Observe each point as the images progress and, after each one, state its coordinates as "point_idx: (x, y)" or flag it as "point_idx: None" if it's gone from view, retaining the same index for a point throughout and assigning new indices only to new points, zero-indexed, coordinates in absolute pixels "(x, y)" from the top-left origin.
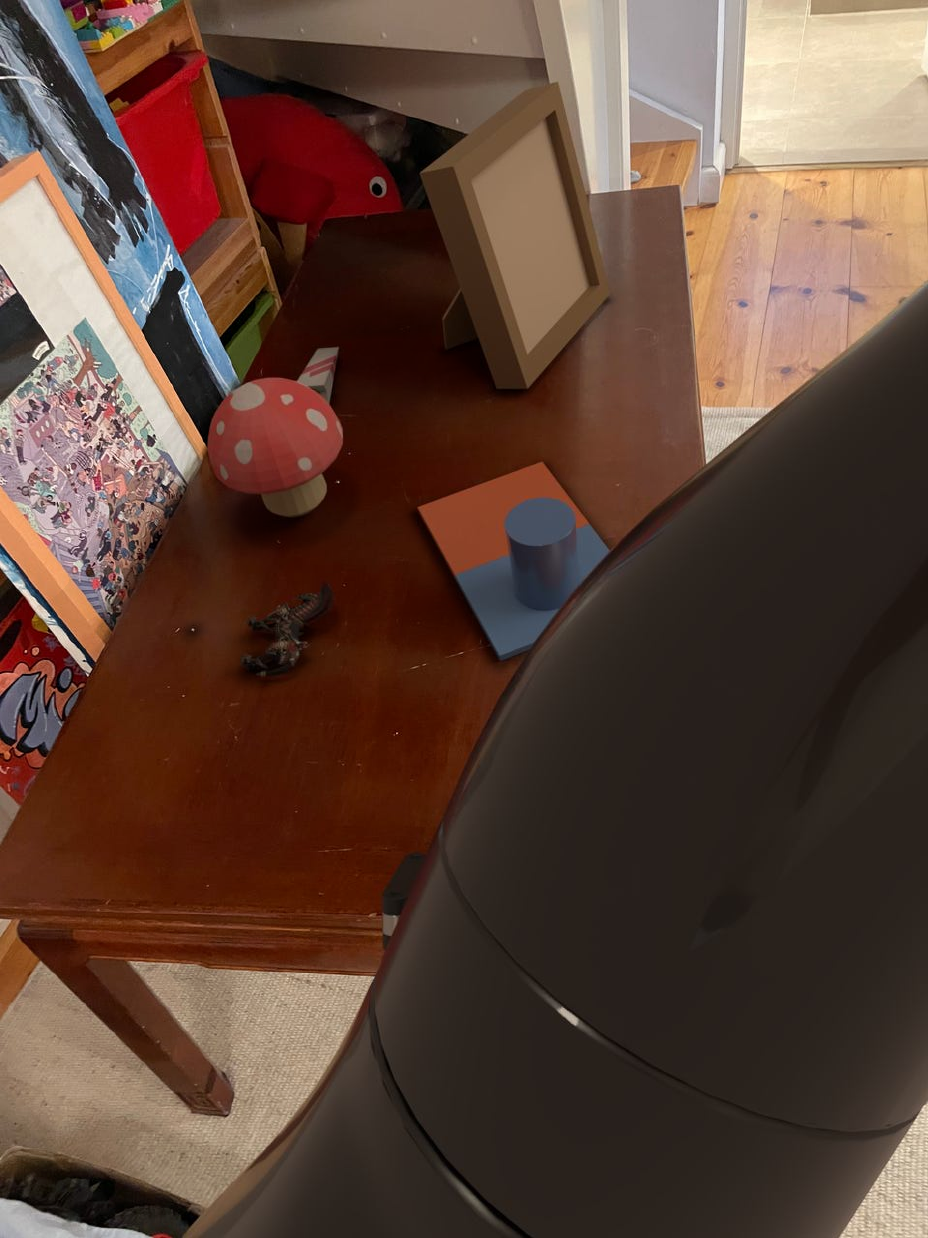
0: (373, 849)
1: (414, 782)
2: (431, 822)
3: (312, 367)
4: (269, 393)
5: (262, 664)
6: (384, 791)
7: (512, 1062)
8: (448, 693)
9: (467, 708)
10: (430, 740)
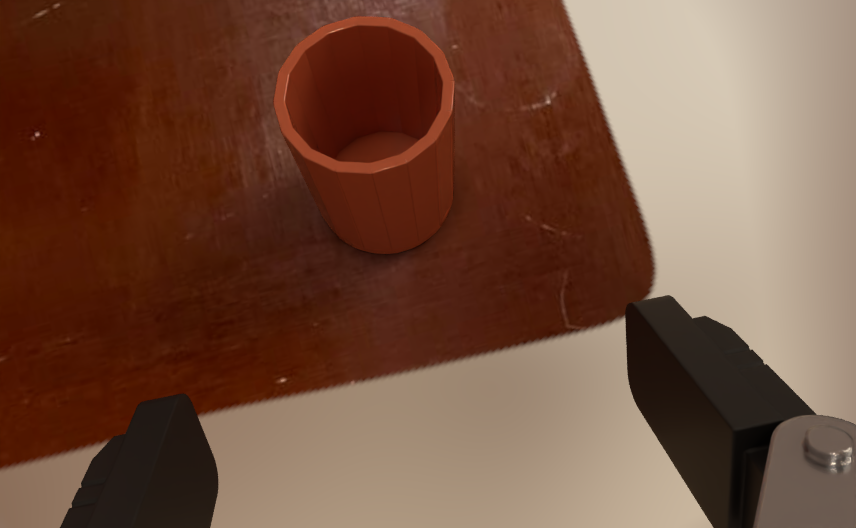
0: (45, 348)
1: (90, 212)
2: (137, 273)
3: None
4: None
5: None
6: (40, 241)
7: None
8: (111, 45)
9: (151, 64)
10: (100, 133)
